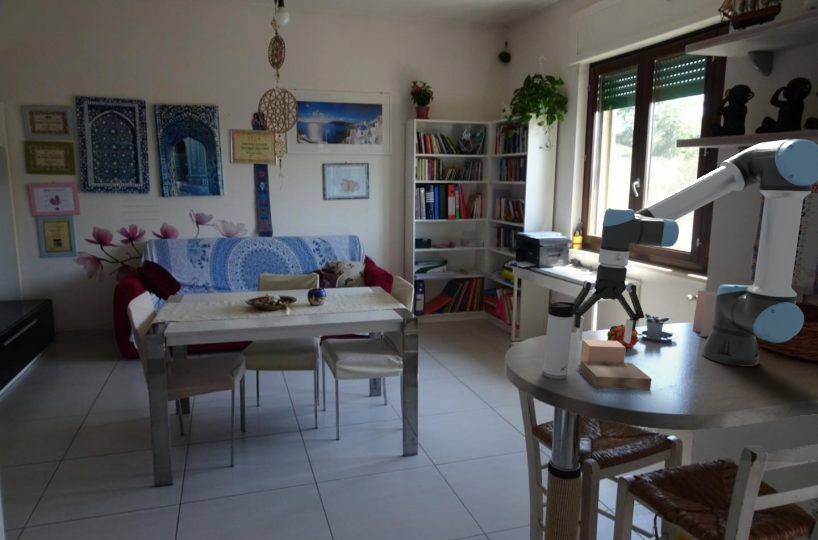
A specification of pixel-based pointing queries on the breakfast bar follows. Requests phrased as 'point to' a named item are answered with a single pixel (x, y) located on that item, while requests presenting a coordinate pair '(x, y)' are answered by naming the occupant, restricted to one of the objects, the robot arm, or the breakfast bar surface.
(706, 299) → the greeting card
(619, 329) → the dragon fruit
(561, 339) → the travel mug
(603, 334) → the breakfast bar surface
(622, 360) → the block
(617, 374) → the brown wooden board
